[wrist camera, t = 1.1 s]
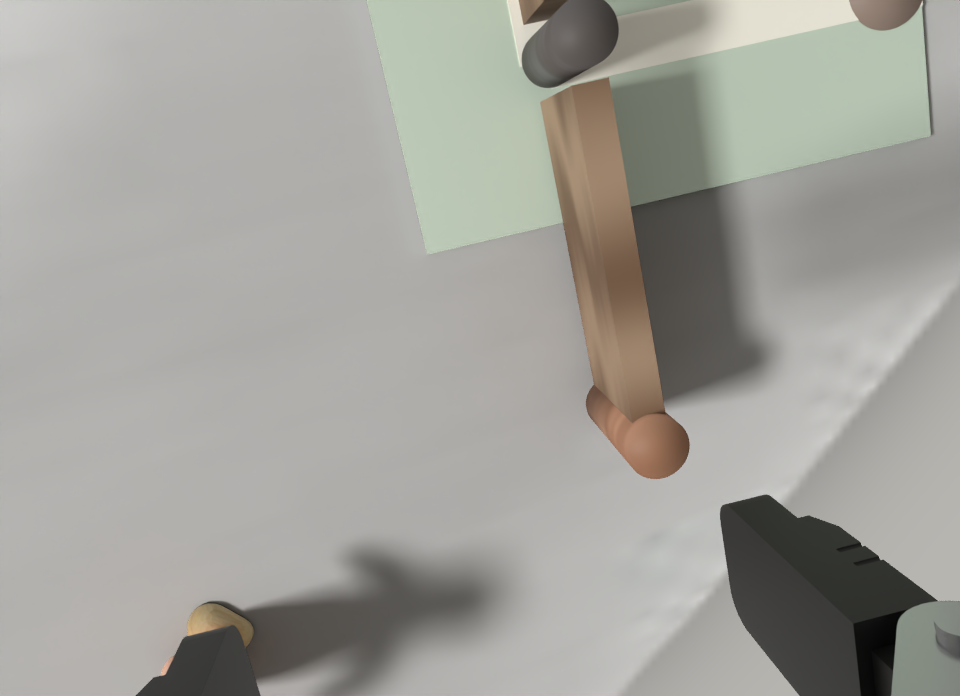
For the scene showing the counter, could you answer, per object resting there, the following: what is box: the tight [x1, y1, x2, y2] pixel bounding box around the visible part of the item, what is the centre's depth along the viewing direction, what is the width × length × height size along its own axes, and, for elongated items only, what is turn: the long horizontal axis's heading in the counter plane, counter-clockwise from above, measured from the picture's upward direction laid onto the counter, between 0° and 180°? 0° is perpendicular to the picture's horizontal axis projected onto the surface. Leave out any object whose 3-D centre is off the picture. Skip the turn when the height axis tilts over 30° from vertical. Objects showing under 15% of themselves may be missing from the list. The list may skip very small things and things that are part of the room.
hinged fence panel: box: [522, 0, 689, 479], centre depth 26 cm, size 16×2×6 cm, turn 12°
